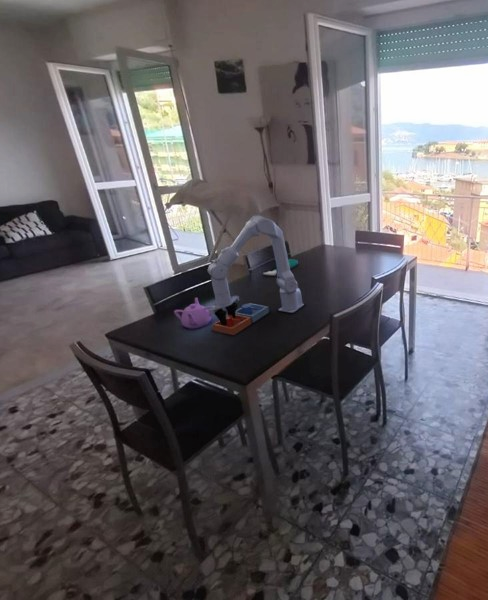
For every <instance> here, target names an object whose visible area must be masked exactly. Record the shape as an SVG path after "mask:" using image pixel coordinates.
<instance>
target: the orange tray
mask: <svg viewBox="0 0 488 600" xmlns="http://www.w3.org/2000/svg"><path fill="white" fill-rule="evenodd" d="M235 319H239V320H240V321H239V322H237V321H234V326H232V327H227V326H224V325H222V324H221V322H220V320H219V319H218V320H217V321H216V322H214V323H212V324H211V326H212V329H213V332H217V333H220V334H221V333H222V334H226V335H230V336H235V335H237V334H238V333H240V332H241V331H243V330H245V329H246V328H247V327H249V326H251V325H252V324H253V322H252V321H251V317H246V316H241V315H236V314H235Z"/></svg>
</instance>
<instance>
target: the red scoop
mask: <svg viewBox="0 0 488 600" xmlns="http://www.w3.org/2000/svg"><path fill="white" fill-rule="evenodd" d="M226 321H227V325H226V326H227V327H232V326H234V321H237V322H239V321H240V320H239V319H234V318H233V316H232V315H228V314H226ZM224 326H225V325H224Z"/></svg>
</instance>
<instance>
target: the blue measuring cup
mask: <svg viewBox="0 0 488 600" xmlns="http://www.w3.org/2000/svg"><path fill="white" fill-rule="evenodd" d="M241 308H242V311H243V314H247V315H251V314H253V312H252V309H253V310H258V308H255V307H251V304H249V303H244V304H242V305H241Z"/></svg>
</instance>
